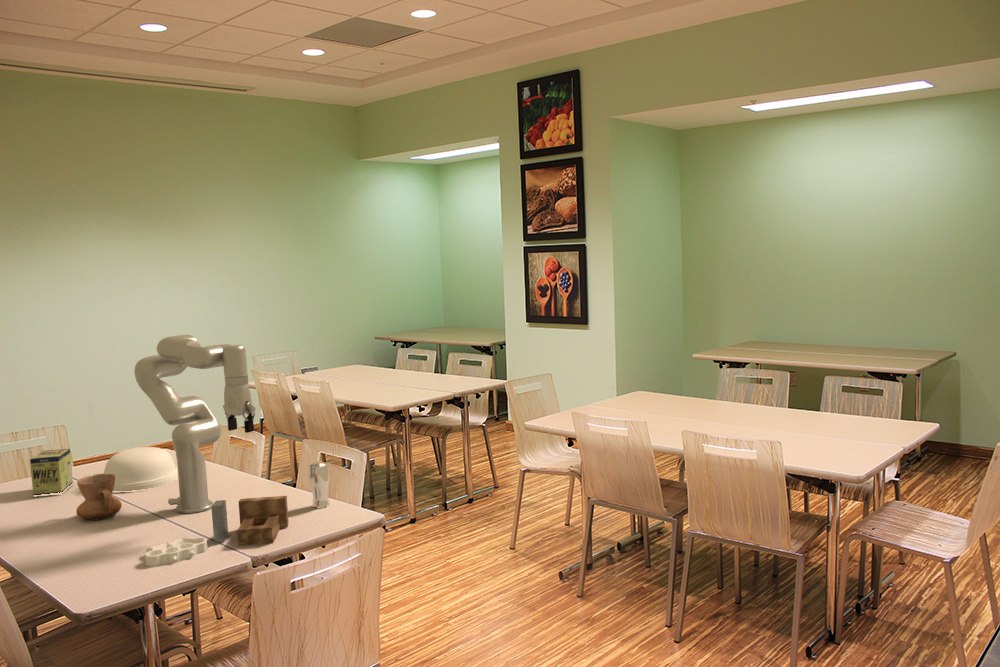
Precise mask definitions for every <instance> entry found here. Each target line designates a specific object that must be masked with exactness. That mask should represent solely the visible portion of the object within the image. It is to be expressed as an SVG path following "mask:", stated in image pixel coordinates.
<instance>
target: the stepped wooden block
mask: <svg viewBox="0 0 1000 667" xmlns="http://www.w3.org/2000/svg"><path fill="white" fill-rule="evenodd" d="M287 496H288V495H279V496H277V495H276V496H262V497H250V498H249V497H248V498H240V499H239V500H238V511H239V512H238V514H239V526H238V528H237V530H236V533H237V536H236V538H237V547H241V546H243V547H244V546H255V545H268V544H274V542H275V540H276V538H277V536H278V534H279V532H280V530H281V529H285V528H284V527H287V528H288V527H289V525H290V524H289V510H288V509H289V508H288V507H289V506H288V497H287ZM288 524H289V525H288Z"/></svg>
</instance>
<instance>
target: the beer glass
mask: <svg viewBox="0 0 1000 667" xmlns="http://www.w3.org/2000/svg"><path fill="white" fill-rule="evenodd" d="M308 466H309V467H308V474H309V475H308V477H309V478H308V479H309V485H310V489H311V493H312V504H311V505H312V506H313V507H325V506H327V505H329V504H330V500H329V487H330V470H329V464H328V462H315V463H311V464H309V465H308ZM330 505H331V504H330ZM330 505H329V506H330ZM313 507H312V508H313ZM325 508H326V507H325Z"/></svg>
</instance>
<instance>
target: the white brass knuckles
mask: <svg viewBox="0 0 1000 667" xmlns="http://www.w3.org/2000/svg"><path fill="white" fill-rule="evenodd" d="M207 541H208V540H207V539H206V538H202V537H198V538H188V537H182V538H180V539H179V538H178V539H175V540H172V541H167V542H165V543H162V544H157V545H153V546H148V547H147V548H146V549H145V550H146V553H145V555H144V556H145V565H146V566H147V567H158V566H162V565H165V564H167V565H168V564H173V563H178V562H180V561H184V560H189V559H192V558H193V557H195V556H197V555H199V554H202V553H206V552H207V551H208V542H207Z"/></svg>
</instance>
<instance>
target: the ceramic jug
mask: <svg viewBox="0 0 1000 667" xmlns="http://www.w3.org/2000/svg"><path fill="white" fill-rule="evenodd" d="M76 484H77V486H78V489H79V491H80V494H82V496H83V498H84V499H85V500H84V501H83V502H81V503H80V504H79V505H78V506H77V508H76V515H77V516H78V517H79V518H80V519H83V520H90V521H92V520H95V519H97V520H103V519H107V518H109V517H112V516H115V515H116V514H117V513H119V511H121V509H122V507H123V506H122V505H123V504H122V501H121V500H120V499H119V498H118V497H117V498H116V497H114V496H112V494H113V493H112V491H113V488H114V484H115V475H114V474H110V473H104V472H103V473H95V474H93V475H87V476H83V477H80V478H79V479H78V480H77V481H76Z"/></svg>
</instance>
